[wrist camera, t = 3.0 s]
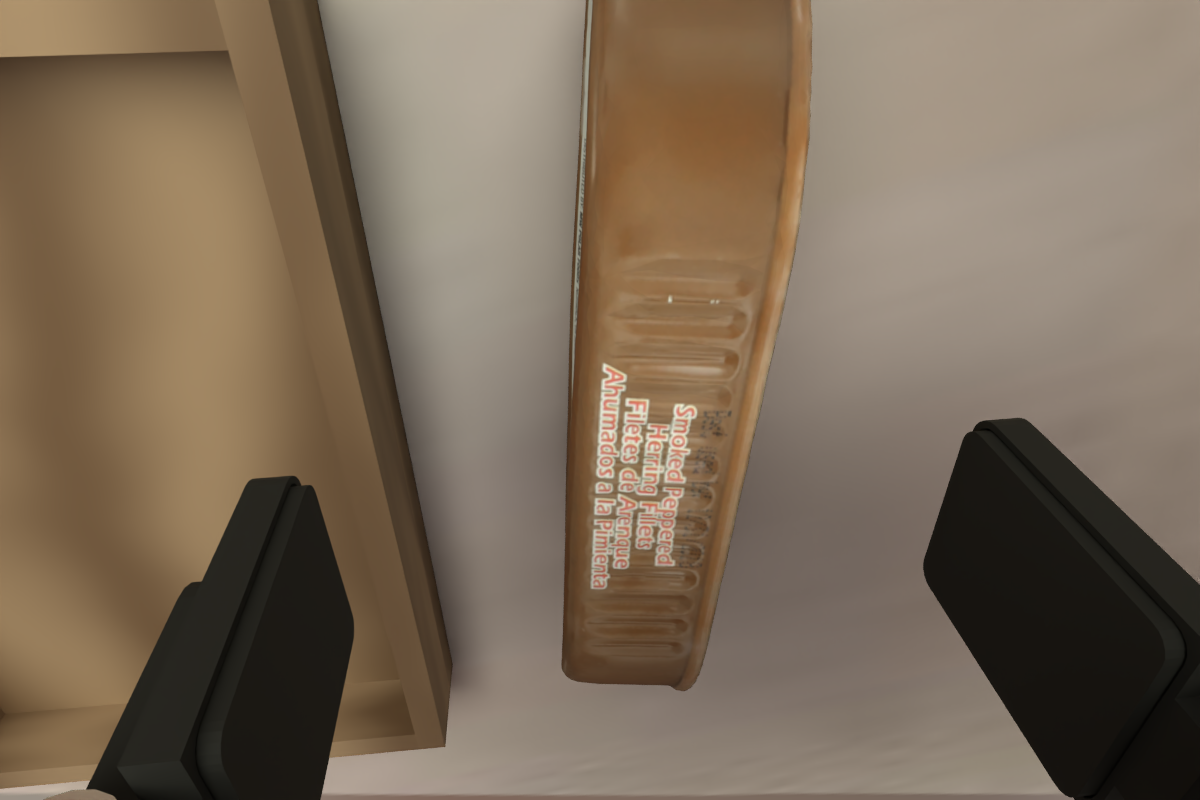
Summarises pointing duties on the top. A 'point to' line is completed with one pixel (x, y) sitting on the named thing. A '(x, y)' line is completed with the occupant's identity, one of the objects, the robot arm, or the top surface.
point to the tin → (673, 312)
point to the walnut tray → (187, 361)
